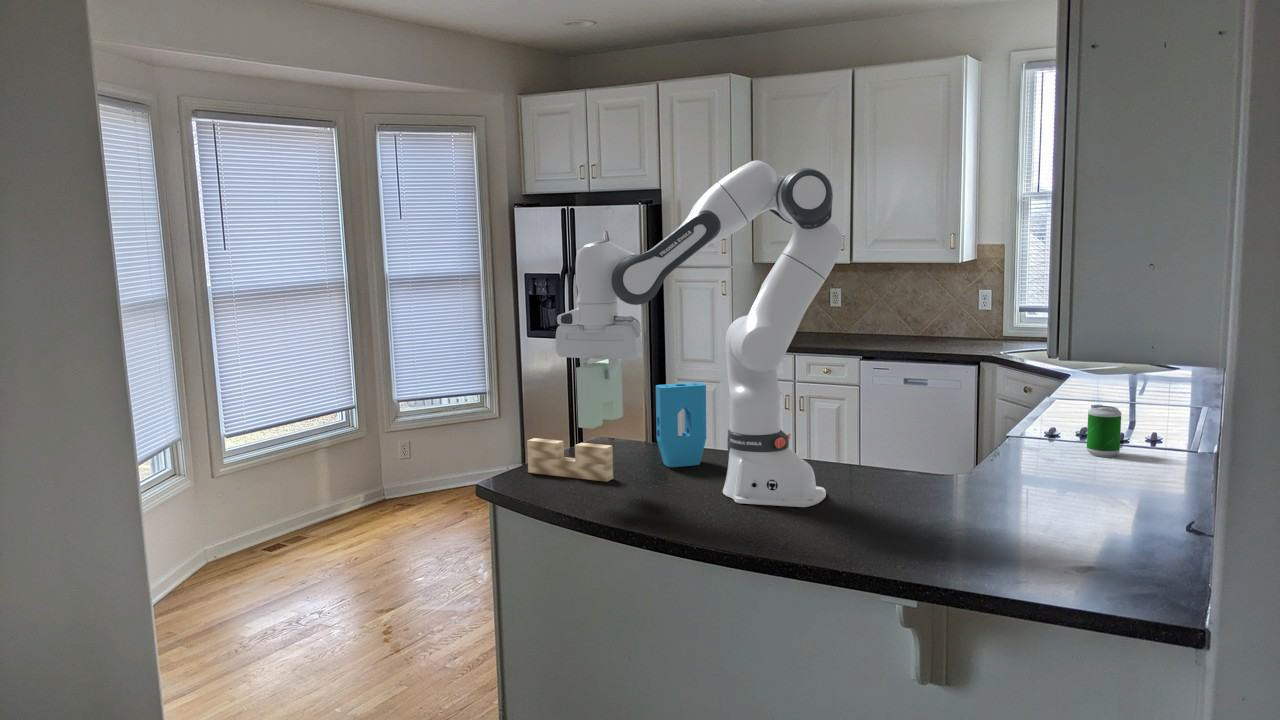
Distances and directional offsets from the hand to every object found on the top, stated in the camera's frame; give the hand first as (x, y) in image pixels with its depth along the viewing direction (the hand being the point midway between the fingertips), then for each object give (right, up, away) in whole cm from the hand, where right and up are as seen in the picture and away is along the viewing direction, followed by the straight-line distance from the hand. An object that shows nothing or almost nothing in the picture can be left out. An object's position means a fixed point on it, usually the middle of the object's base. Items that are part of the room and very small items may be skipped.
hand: (599, 378), depth 209 cm
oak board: (-8, -24, +20) cm, 32 cm away
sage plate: (0, -10, +1) cm, 10 cm away
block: (+19, -22, +29) cm, 42 cm away
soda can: (+126, -20, +31) cm, 131 cm away
